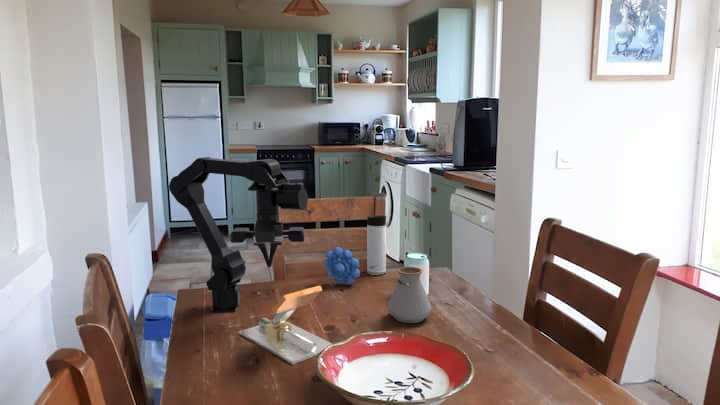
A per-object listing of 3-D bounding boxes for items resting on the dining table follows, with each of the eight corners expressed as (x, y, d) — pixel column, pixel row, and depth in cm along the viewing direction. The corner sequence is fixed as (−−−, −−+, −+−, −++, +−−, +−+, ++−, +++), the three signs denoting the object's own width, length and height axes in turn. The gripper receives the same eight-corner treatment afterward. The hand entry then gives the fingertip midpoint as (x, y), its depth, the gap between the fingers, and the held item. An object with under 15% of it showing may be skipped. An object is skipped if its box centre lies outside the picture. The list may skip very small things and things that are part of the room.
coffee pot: (392, 307, 145) (392, 254, 143) (434, 311, 142) (435, 257, 140) (373, 339, 125) (373, 278, 122) (421, 344, 122) (423, 282, 119)
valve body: (239, 333, 128) (239, 320, 128) (280, 320, 136) (280, 308, 136) (292, 364, 112) (292, 350, 112) (335, 347, 120) (335, 334, 120)
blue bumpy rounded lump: (320, 287, 162) (319, 249, 160) (326, 280, 169) (325, 244, 167) (357, 290, 160) (357, 251, 158) (361, 283, 166) (361, 246, 165)
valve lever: (257, 324, 123) (283, 294, 114) (292, 313, 130) (319, 284, 120) (260, 330, 123) (286, 301, 113) (295, 319, 129) (322, 290, 120)
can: (418, 289, 160) (419, 251, 158) (433, 296, 154) (434, 256, 152) (399, 293, 157) (400, 254, 155) (413, 300, 151) (414, 259, 149)
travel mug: (373, 277, 172) (373, 217, 169) (363, 272, 178) (363, 213, 175) (389, 274, 175) (390, 215, 172) (379, 269, 181) (380, 212, 178)
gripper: (224, 214, 128) (227, 276, 130) (302, 213, 129) (303, 275, 131) (233, 206, 139) (235, 264, 141) (304, 205, 140) (305, 263, 142)
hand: (269, 266), depth 139 cm, fingers closed
